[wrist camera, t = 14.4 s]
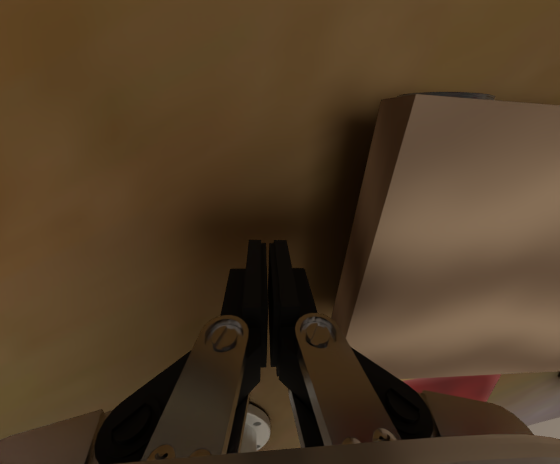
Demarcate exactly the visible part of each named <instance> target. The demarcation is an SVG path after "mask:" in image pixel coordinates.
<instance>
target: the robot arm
mask: <svg viewBox="0 0 560 464" xmlns="http://www.w3.org/2000/svg"><path fill="white" fill-rule="evenodd" d="M268 308H269V333H270V359H271V367H276V370H277V376H279V380H280V381H281V382H282V383H283V384H284V385H285V386H286V387H287V388H288V392H289V398H290V402H291V406H292V411H293V415H294V419H295V423H296V428H297V432H298V436H299V440H300V445H301V448H295V449H282V450H270V451H258V452H257V450H259V449H260V448H262V447H263V446H264V445H265V444H266V442H267V441H268V439H269V437H270V421H269V418H268V416H267V415H266V414H265V413H264V412H263V411H262V410H261V409H259V408H258V407H256V406H254V405H252V404H249V399H250V392H251V391H252V389H253V388H254V387H255V386H256V385H257V384H258V383H259V382H260V367H266V359H267V329H268ZM0 464H560V439H556V438H551V437H543V436H535V435H534V434H533V433H532V432H531V431H530V429H529V428H528V427H527V426H526V425H525V424H524V423H523V422H522V421H521V420H520V419H519V418H518V417H516V416H515V415H514V414H513V413H511V412H509V411H508V410H506V409H505V408H503V407H501V406H498V405H495V404H493V403H488V402H483V401H478V400H473V399H468V398H463V397H458V396H453V395H448V394H443V393H437V392H432V391H427V390H423V391H422V393H419V392H416V391H415V390H414V389H412V388H411V387H410V386H409V385H407V384H406V383H404V382H403V381H401V380H400V379H398V378H397V377H395V376H394V375H392V374H391V373H389V372H388V371H386V370H385V369H383V368H382V367H380V366H379V365H377V364H376V363H374V362H373V361H371V360H370V359H368V358H367V357H365V356H364V355H362V354H361V353H359V352H358V351H356V350H355V349H353V348H352V347H350V345H349V343H348V341H347V340H346V338H345V336H344V334H343V332H342V331H341V329H340V327H339V326H338V324H337V323H336V322H335V321H334V320H333V319H331V318H330V317H328V316H326V315H324V314H319V313H317V310H316V306H315V303H314V299H313V296H312V293H311V289H310V286H309V282H308V279H307V275H306V272H305V269H304V268H292V265H291V260H290V256H289V251H288V246H287V241H286V240H274V243H270V244H269V274H268V288H267V262H266V243H261V240H249V245H248V255H247V265H246V269H230V273H229V277H228V282H227V287H226V292H225V297H224V302H223V307H222V311H221V316H219V317H216V318H214V319H212V320H211V321H209V322H208V323H207V324H206V325H205V326H204V327H203V329H202V330H201V332H200V334H199V336H198V338H197V340H196V342H195V344H194V347H193V349H192V350H191V351H190V352H188V353H187V354H186V355H184V356H183V357H182V358H180V359H179V360H178V361H176V362H175V363H174V364H172V365H171V366H170V367H168V368H167V369H166V370H164V371H163V372H161V373H160V374H159V375H157V376H156V377H155V378H153V379H152V380H151V381H149V382H148V383H147V384H145V385H144V386H143V387H141V388H140V389H139V390H137V391H136V392H135V393H133V394H132V395H131V396H129V397H128V398H126V399H125V400H124V401H123V402H121V403H120V404H119V405H118V406H117V407H116V408H115V409H114V410H112V411H108V412H105V413H104V411H103V410H102V409H101V410H98V411H94V412H91V413H87V414H84V415H81V416H77V417H74V418H70V419H67V420H63V421H60V422H56V423H53V424H50V425H46V426H43V427H39V428H36V429H32V430H29V431H25V432H22V433H19V434H15V435H12V436H9V437H6V438H4V439H2V440H0Z"/></svg>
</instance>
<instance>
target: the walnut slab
mask: <svg viewBox="0 0 560 464" xmlns="http://www.w3.org/2000/svg"><path fill="white" fill-rule="evenodd" d="M331 319H333V320H334V321H335V322H336V323H337V324H338V326H339V327H340V329H341V331H342V332H343V334H344V336H345V338H346V340H347V341H348V343H349V345H350V347H352V348H353V349H355V350H356V351H358V352H359V353H361V354H362V355H364V356H365V357H367V358H368V359H370V360H371V361H373V362H374V363H376V364H377V365H379V366H380V367H382V368H383V369H385V370H386V371H388V372H389V373H391V374H392V375H394V376H395V377H397V378H398V379H415V378H435V377H454V376H474V375H494V374H513V373H533V372H552V371H560V106H559V105H547V104H534V103H521V102H509V101H496V100H484V99H471V98H458V97H446V96H433V95H421V94H414V95H408V96H402V97H396V98H390V99H383V100H381V103H380V108H379V112H378V117H377V121H376V125H375V130H374V134H373V138H372V143H371V147H370V152H369V156H368V160H367V165H366V169H365V173H364V178H363V182H362V187H361V191H360V195H359V200H358V204H357V208H356V213H355V217H354V222H353V226H352V230H351V235H350V239H349V243H348V248H347V252H346V256H345V261H344V265H343V270H342V274H341V278H340V283H339V287H338V291H337V296H336V300H335V305H334V309H333V313H332V318H331Z"/></svg>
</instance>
